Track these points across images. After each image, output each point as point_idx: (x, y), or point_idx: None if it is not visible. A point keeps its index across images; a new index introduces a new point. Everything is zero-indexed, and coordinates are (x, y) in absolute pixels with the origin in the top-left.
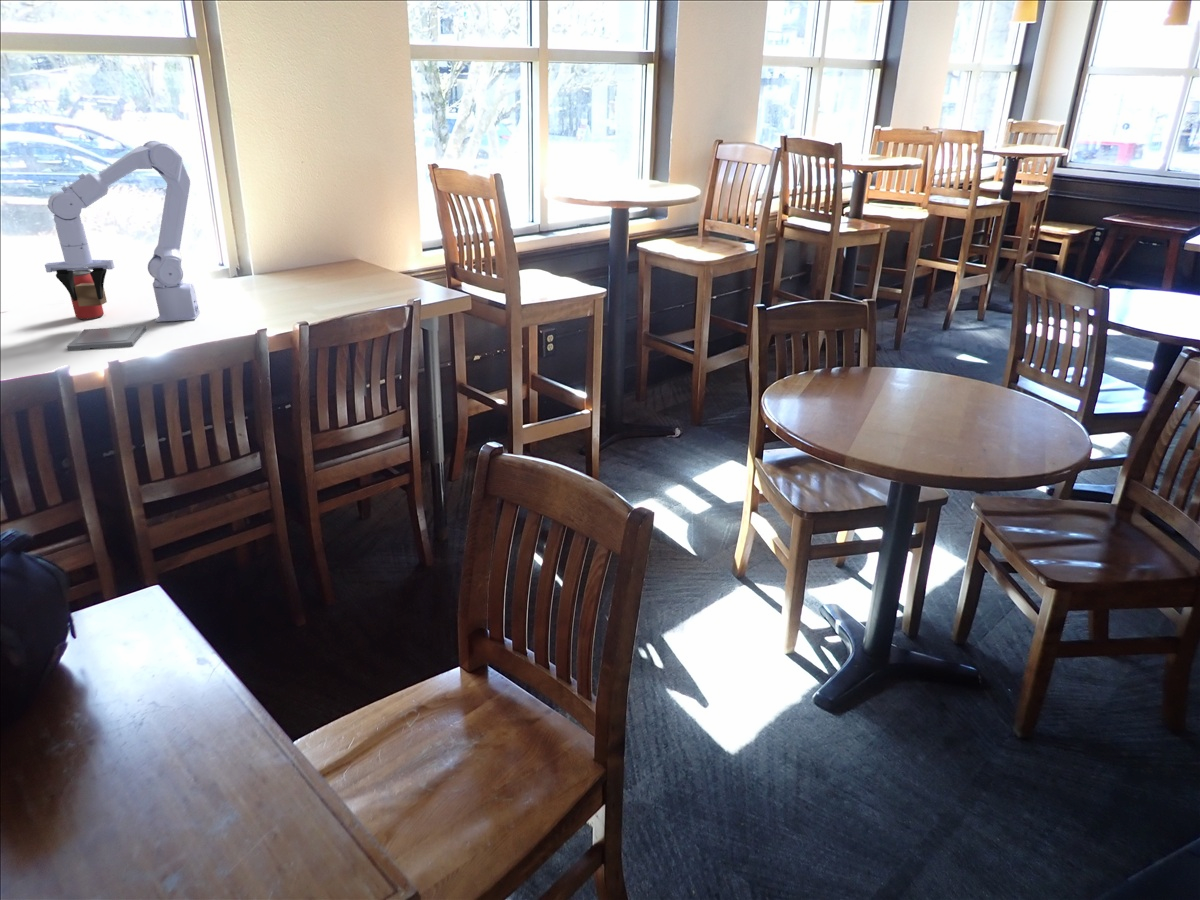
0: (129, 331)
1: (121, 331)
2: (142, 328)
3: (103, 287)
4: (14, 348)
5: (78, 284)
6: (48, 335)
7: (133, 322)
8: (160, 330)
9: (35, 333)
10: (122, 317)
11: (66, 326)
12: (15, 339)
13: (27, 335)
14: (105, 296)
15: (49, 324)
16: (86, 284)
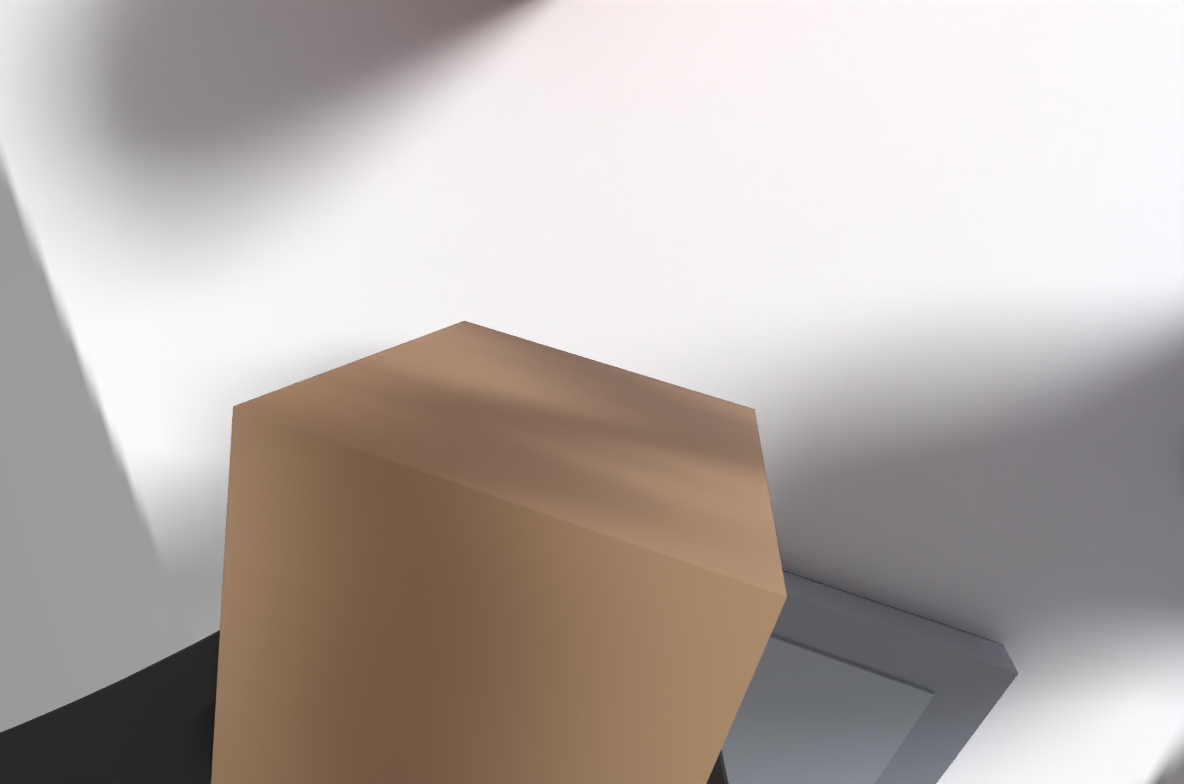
0: (845, 757)
1: (787, 722)
2: (966, 731)
3: (767, 533)
4: (188, 578)
5: (224, 575)
6: None
7: (961, 336)
8: (1107, 726)
9: (187, 290)
10: (897, 20)
11: (358, 171)
12: (119, 387)
13: (154, 320)
14: (756, 448)
15: (198, 5)
16: (399, 714)
